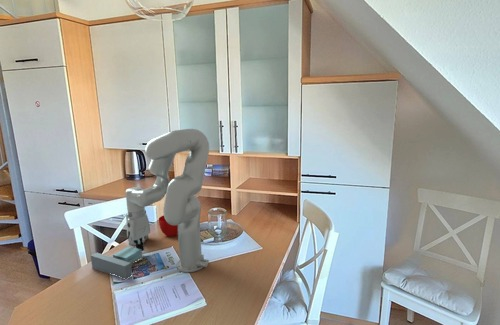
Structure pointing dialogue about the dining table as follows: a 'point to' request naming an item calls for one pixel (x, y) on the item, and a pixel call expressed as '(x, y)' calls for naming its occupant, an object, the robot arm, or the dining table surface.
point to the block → (129, 254)
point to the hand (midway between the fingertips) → (140, 250)
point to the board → (111, 265)
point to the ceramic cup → (168, 227)
